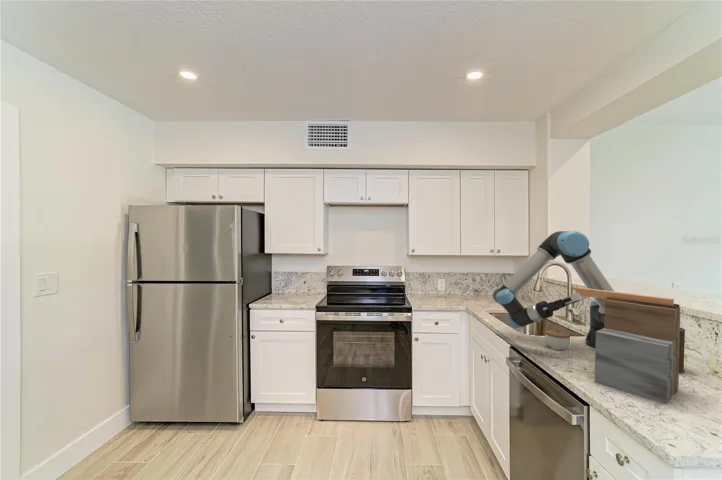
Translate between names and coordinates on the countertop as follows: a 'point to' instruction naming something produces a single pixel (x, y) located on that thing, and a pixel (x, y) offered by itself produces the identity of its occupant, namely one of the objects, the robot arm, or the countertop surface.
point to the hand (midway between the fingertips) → (586, 294)
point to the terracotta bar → (623, 296)
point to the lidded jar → (557, 339)
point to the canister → (681, 350)
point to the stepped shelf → (639, 348)
